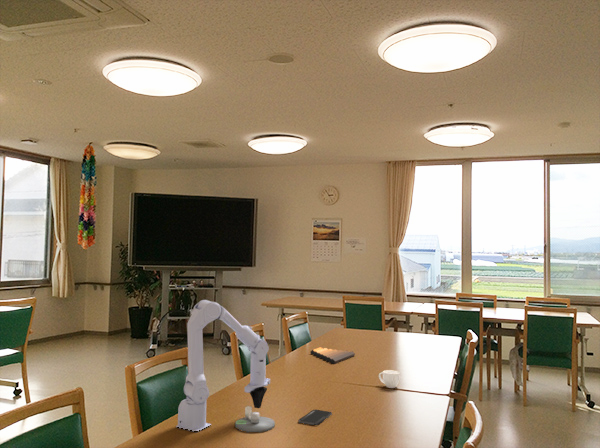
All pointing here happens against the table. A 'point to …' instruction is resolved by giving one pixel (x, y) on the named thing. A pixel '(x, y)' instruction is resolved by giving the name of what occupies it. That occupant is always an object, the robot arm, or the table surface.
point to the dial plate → (255, 424)
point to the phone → (315, 417)
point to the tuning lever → (251, 414)
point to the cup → (390, 378)
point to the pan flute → (332, 355)
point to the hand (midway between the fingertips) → (257, 407)
